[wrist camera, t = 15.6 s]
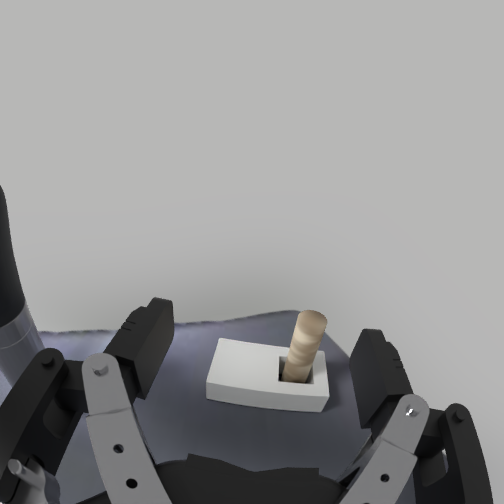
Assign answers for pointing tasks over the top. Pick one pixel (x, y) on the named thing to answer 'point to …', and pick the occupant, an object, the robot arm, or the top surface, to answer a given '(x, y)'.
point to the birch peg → (304, 346)
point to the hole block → (263, 378)
